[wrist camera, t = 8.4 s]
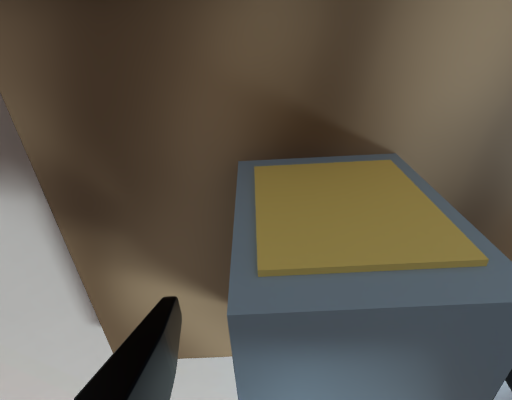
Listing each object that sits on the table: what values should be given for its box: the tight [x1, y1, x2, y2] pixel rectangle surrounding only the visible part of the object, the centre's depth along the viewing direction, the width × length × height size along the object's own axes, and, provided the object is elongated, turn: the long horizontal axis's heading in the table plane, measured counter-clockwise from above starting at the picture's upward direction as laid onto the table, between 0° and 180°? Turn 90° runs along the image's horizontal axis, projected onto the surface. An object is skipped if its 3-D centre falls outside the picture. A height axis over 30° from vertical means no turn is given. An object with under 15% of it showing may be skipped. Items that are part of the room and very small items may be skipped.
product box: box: [227, 153, 512, 400], centre depth 9 cm, size 7×5×6 cm
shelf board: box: [0, 0, 512, 359], centre depth 11 cm, size 18×16×2 cm
